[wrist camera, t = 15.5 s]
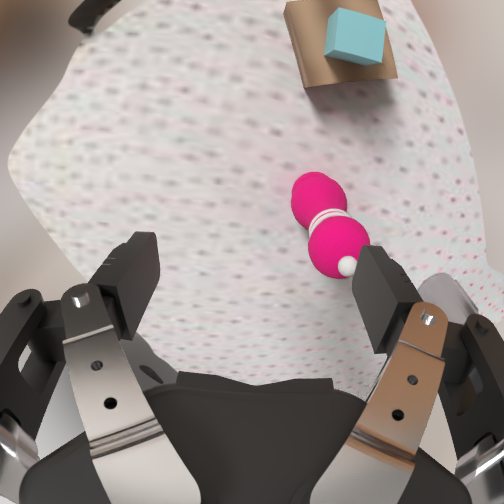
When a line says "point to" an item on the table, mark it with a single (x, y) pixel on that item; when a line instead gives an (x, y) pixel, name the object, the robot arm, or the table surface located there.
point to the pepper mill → (328, 225)
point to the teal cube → (355, 37)
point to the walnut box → (314, 37)
